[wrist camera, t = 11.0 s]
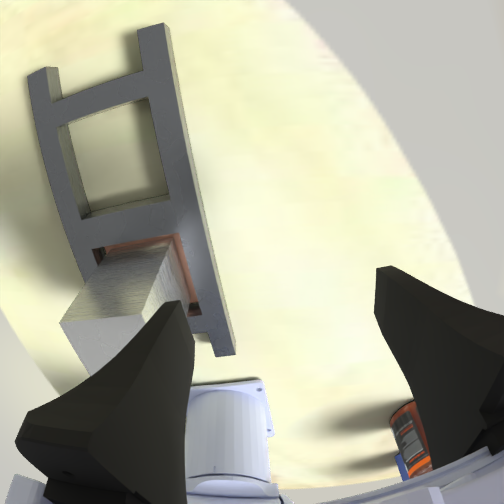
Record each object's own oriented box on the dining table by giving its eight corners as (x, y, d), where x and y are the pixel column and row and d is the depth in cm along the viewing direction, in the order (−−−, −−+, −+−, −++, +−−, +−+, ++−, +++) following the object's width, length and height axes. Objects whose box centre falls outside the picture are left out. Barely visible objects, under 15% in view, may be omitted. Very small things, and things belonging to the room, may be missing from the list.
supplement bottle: (382, 430, 32) (408, 507, 22) (395, 402, 30) (429, 487, 19) (424, 419, 32) (454, 490, 22) (440, 390, 30) (478, 467, 20)
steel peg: (191, 296, 22) (173, 384, 15) (132, 304, 22) (98, 387, 15) (173, 236, 20) (141, 314, 13) (110, 248, 20) (59, 322, 13)
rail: (235, 341, 24) (235, 354, 23) (129, 351, 25) (124, 364, 23) (169, 28, 15) (163, 22, 13) (39, 76, 15) (27, 76, 13)
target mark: (199, 299, 22) (198, 301, 22) (129, 308, 23) (128, 310, 22) (179, 228, 20) (178, 230, 20) (104, 242, 20) (103, 244, 20)
